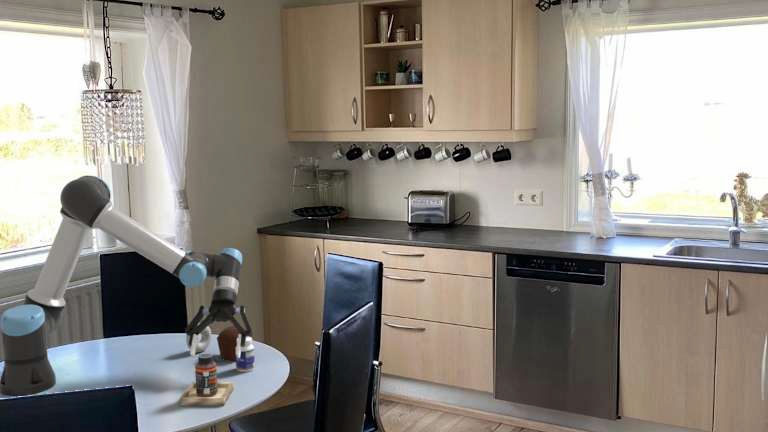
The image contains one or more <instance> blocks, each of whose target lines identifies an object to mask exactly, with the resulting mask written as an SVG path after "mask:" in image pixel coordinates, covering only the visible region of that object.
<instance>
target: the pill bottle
mask: <svg viewBox="0 0 768 432" xmlns="http://www.w3.org/2000/svg"><path fill="white" fill-rule="evenodd" d="M237 342H238V338H237ZM252 343H253V338H252V336H251V337H246V342H245V346H244V347H241V354H240V358H237V356H236V361H235V369H236V371H237V372H241V373H247V372H251V371H253V370H254V369H255V365H256V364H255V363H256V362H255V347H254V345H253V344H252ZM236 349H237V346H236ZM236 349H235V350H236Z"/></svg>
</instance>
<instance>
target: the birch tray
mask: <svg viewBox="0 0 768 432" xmlns="http://www.w3.org/2000/svg"><path fill="white" fill-rule="evenodd" d="M233 391H234V382H231V381H228V382H227V381H225V382H220V381H217V393H216V394H215V395H213V396H210V397H200V396H198V395H197V394H196V381H195V382H191V383H190V385H189V386H188V387H187V389H185V391H184V393H183V394H182V395H181V397H179V398H180V400H179V401H180V407H203V406H204V407H209V406H210V407H214V406H215V407H224V406H225V405H226V403H227V401H228V400H229V398H230V396H231V394H232V393H233Z"/></svg>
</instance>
